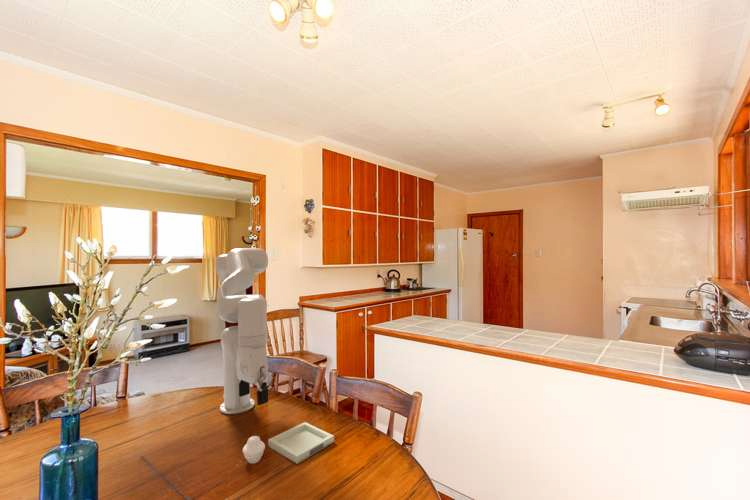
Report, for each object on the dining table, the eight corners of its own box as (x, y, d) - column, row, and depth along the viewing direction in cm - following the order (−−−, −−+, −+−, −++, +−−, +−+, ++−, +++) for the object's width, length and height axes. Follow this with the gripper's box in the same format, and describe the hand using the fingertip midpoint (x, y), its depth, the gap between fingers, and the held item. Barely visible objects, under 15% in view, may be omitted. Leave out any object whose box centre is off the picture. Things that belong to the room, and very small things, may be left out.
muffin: (244, 469, 99) (244, 444, 99) (241, 458, 104) (240, 434, 104) (267, 462, 102) (267, 438, 102) (262, 452, 107) (262, 429, 107)
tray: (268, 446, 110) (268, 439, 110) (305, 428, 121) (304, 421, 121) (297, 464, 101) (297, 456, 101) (334, 442, 112) (334, 436, 112)
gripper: (225, 338, 106) (226, 396, 106) (257, 348, 95) (258, 412, 95) (248, 334, 112) (249, 388, 111) (280, 342, 100) (282, 402, 100)
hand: (253, 399), depth 103 cm, fingers open, 9 cm apart
